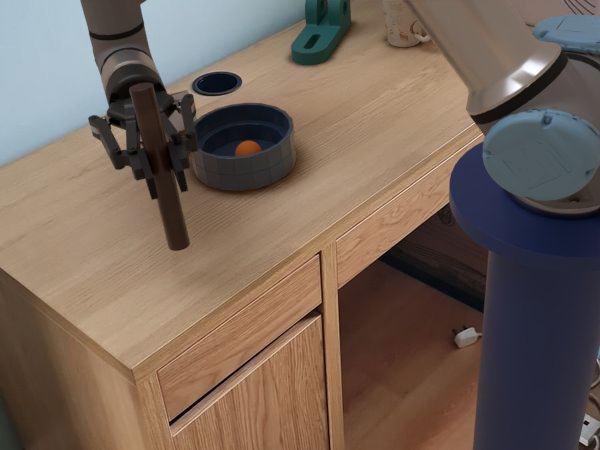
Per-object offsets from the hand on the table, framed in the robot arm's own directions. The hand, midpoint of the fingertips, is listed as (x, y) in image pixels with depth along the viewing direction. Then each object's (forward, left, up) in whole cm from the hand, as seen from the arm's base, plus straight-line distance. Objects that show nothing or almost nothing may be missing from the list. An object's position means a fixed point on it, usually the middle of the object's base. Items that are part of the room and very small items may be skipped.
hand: (167, 185), depth 85 cm
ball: (+16, -22, -14) cm, 31 cm away
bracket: (+40, -57, -17) cm, 71 cm away
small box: (+37, -19, -14) cm, 44 cm away
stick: (+3, -1, -11) cm, 12 cm away
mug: (+26, -67, -17) cm, 74 cm away
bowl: (+18, -22, -16) cm, 33 cm away
